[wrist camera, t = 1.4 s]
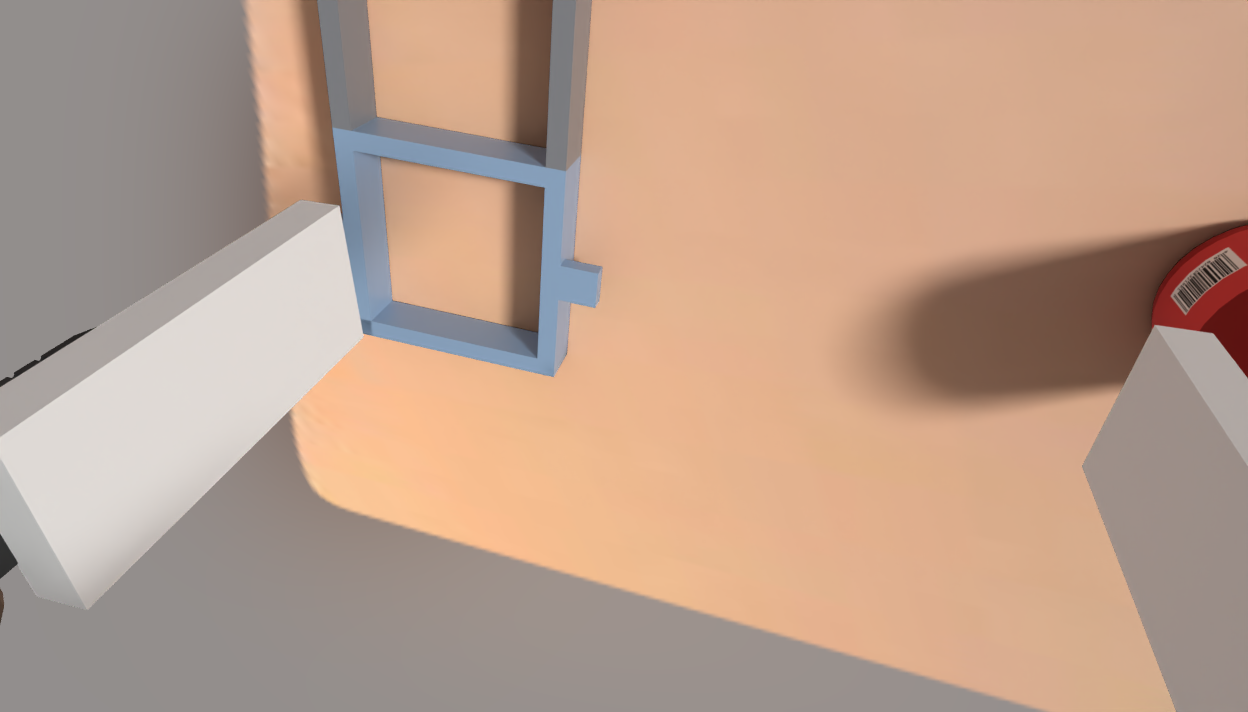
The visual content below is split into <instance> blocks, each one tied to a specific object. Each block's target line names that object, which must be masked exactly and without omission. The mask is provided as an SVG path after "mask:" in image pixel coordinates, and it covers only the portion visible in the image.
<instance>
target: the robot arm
mask: <svg viewBox="0 0 1248 712" xmlns="http://www.w3.org/2000/svg"><path fill="white" fill-rule="evenodd" d="M363 337H364V336H363V331H362V325H361V320H360V315H359V309H358V304H357V298H356V293H355V287H354V282H353V277H352V271H351V266H350V260H349V255H348V250H347V244H346V239H345V233H344V228H343V223H342V217H341V212H340V206H339V205H332V204H325V203H319V202H312V201H305V200H300V201H298V202H296V203H295V204H293V205H292V206H290V207H288V208H287V209H285V210H284V211H282V212H280V213H279V214H277V215H276V216H274V217H272V218H271V219H269V220H268V221H266V222H264V223H263V224H261V225H260V226H258V227H256V228H255V229H253V230H252V231H250V232H249V233H247V234H245V235H244V236H242V237H240V238H239V239H237V240H235V241H234V242H232V243H231V244H229V245H227V246H226V247H224V248H223V249H221V250H220V251H218V252H216V253H215V254H213V255H211V256H210V257H208V258H207V259H205V260H203V261H202V262H200V263H199V264H197V265H195V266H194V267H192V268H191V269H189V270H188V271H186V272H184V273H183V274H181V275H179V276H178V277H176V278H175V279H173V280H171V281H170V282H168V283H167V284H165V285H163V286H162V287H160V288H159V289H157V290H156V291H154V292H152V293H151V294H149V295H147V296H146V297H144V298H143V299H141V300H139V301H138V302H136V303H135V304H133V305H131V306H130V307H128V308H126V309H125V310H123V311H122V312H120V313H119V314H117V315H115V316H114V317H112V318H110V319H109V320H108V321H106V322H104V323H102V324H101V325H99V326H98V327H95V328H93V329H90V330H87V331H85V332H82V333H80V334H77V335H74V336H73V337H71V338H69V339H68V340H66V341H65V342H63V343H61V344H60V345H58V346H56V347H55V348H53V349H52V350H50V351H48V352H47V353H45V354H44V355H42V356H41V360H40V361H37V360H34V361H32V362H31V363H29V364H27V365H26V366H24V367H22V368H21V369H19V370H18V371H16V372H14V377H13V378H9V377H6V378H5V379H3V380H1V381H0V578H2V577H3V576H4V575H5V574H6V573H7V572H9V571H10V570H11V569H12V568H13V567H14V566H16V565H17V566H18V567H19V569H20V571H21V572H22V574H23V575H24V577H25V579H26V580H27V582H28V583H29V585H30V587H31V588H32V590H33V592H34V593H35V595H36V596H37V597H41V598H45V599H48V600H52V601H55V602H59V603H63V604H66V605H70V606H74V607H77V608H81V609H85V610H88V609H89V608H90V607H91V606H92V605H93V604H94V603H95V602H96V601H97V600H98V599H99V598H100V597H101V596H102V595H103V594H104V593H105V592H106V591H107V590H108V589H109V588H110V587H111V586H112V585H113V584H114V583H115V582H116V581H117V580H118V579H119V578H120V577H121V576H122V575H123V574H124V573H125V572H126V571H127V570H128V569H129V568H130V567H131V566H132V565H133V564H134V563H135V562H136V561H137V560H138V559H139V558H140V557H141V556H142V555H143V554H144V553H145V552H146V551H147V550H148V549H149V548H150V547H151V546H152V545H154V544H155V542H157V541H158V540H159V538H160V537H162V536H163V535H164V534H165V533H166V532H167V531H168V530H169V529H170V528H171V527H172V526H173V525H174V524H175V523H176V522H177V521H178V520H179V519H180V518H181V517H182V516H183V515H184V514H185V513H186V512H187V511H188V510H189V509H190V508H191V507H192V506H193V505H194V504H195V503H196V502H197V501H198V500H199V499H200V498H201V497H202V496H203V495H204V494H205V493H206V492H207V491H208V490H209V489H210V488H211V487H212V486H213V485H214V484H215V483H216V482H217V481H218V480H219V479H220V478H221V477H222V476H223V475H224V474H225V473H226V472H227V471H228V470H229V469H230V468H231V467H232V466H234V465H235V463H236V462H237V461H238V460H239V459H241V457H243V455H244V454H246V453H247V452H248V451H249V450H250V449H251V448H252V447H253V446H254V445H255V444H256V443H257V442H258V441H259V440H260V439H261V438H262V437H263V436H264V435H265V434H266V433H267V432H268V431H269V430H270V429H271V428H272V427H273V426H274V425H275V424H276V423H277V422H278V421H279V420H280V419H281V418H282V417H283V416H284V415H285V414H286V413H287V412H288V411H289V410H290V409H291V408H292V407H293V406H294V405H295V404H296V403H297V402H298V401H299V400H300V399H301V398H302V397H303V396H304V395H305V394H306V393H307V392H308V391H309V390H310V389H311V388H312V387H313V386H314V385H316V384H317V383H318V382H319V381H320V380H321V379H322V378H323V377H324V376H325V375H326V374H327V373H328V372H329V371H330V370H331V369H332V368H333V367H334V366H335V365H336V364H337V363H338V362H339V361H340V360H341V359H342V358H343V357H344V356H345V355H346V354H347V353H348V352H349V351H350V350H351V349H352V348H353V347H354V346H355V345H356V344H357V343H358V342H359V341H360V340H361V339H362V338H363ZM1082 468H1083V470H1084V473H1085V475H1086V478H1087V481H1088V483H1089V486H1090V488H1091V491H1092V494H1093V496H1094V499H1095V501H1096V504H1097V507H1098V509H1099V512H1100V514H1101V517H1102V520H1103V522H1104V525H1105V527H1106V530H1107V533H1108V535H1109V538H1110V540H1111V543H1112V546H1113V548H1114V551H1115V553H1116V556H1117V559H1118V561H1119V564H1120V566H1121V569H1122V572H1123V574H1124V577H1125V579H1126V582H1127V585H1128V587H1129V590H1130V592H1131V595H1132V598H1133V600H1134V603H1135V605H1136V608H1137V611H1138V613H1139V616H1140V618H1141V621H1142V624H1143V626H1144V629H1145V631H1146V634H1147V637H1148V639H1149V642H1150V644H1151V647H1152V650H1153V652H1154V655H1155V657H1156V660H1157V663H1158V665H1159V668H1160V670H1161V673H1162V676H1163V678H1164V681H1165V683H1166V686H1167V689H1168V691H1169V694H1170V696H1171V699H1172V702H1173V704H1174V707H1175V709H1176V712H1248V378H1247V377H1246V375H1245V374H1244V373H1243V371H1242V370H1241V369H1240V368H1239V366H1238V365H1237V364H1236V362H1235V361H1234V360H1233V358H1232V357H1231V356H1230V355H1229V353H1228V352H1227V351H1226V349H1225V348H1224V347H1223V345H1222V344H1221V343H1220V342H1219V340H1218V339H1217V338H1216V336H1215V335H1214V334H1213V333H1207V332H1200V331H1193V330H1186V329H1180V328H1173V327H1166V326H1159V325H1154V327H1153V329H1152V331H1151V333H1150V335H1149V337H1148V339H1147V341H1146V343H1145V345H1144V347H1143V349H1142V351H1141V353H1140V354H1139V356H1138V358H1137V360H1136V362H1135V364H1134V366H1133V368H1132V370H1131V372H1130V374H1129V376H1128V378H1127V380H1126V382H1125V384H1124V386H1123V387H1122V389H1121V391H1120V393H1119V395H1118V397H1117V399H1116V401H1115V403H1114V405H1113V407H1112V409H1111V411H1110V413H1109V415H1108V417H1107V419H1106V421H1105V422H1104V424H1103V426H1102V428H1101V430H1100V432H1099V434H1098V436H1097V438H1096V440H1095V442H1094V444H1093V446H1092V448H1091V450H1090V452H1089V454H1088V456H1087V457H1086V459H1085V461H1084V463H1083V465H1082ZM3 609H4V600H3V593H2V591H1V589H0V623H1V617H2V613H3Z"/></svg>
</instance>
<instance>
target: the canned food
mask: <svg viewBox="0 0 1248 712" xmlns="http://www.w3.org/2000/svg"><path fill="white" fill-rule="evenodd" d="M1154 325H1159V326H1166V327H1173V328H1180V329H1186V330H1193V331H1200V332H1207V333H1213V334H1214V335H1215V336H1216V338H1217V339H1218V340H1219V342H1220V343H1221V344H1222V345H1223V347H1224V348H1225V349H1226V351H1227V352H1228V353H1229V355H1230V356H1231V357H1232V358H1233V360H1234V361H1235V362H1236V364H1237V365H1238V366H1239V368H1240V369H1241V370H1242V371H1243V373H1244V374H1245V375H1246V377H1247V378H1248V225H1245V226H1242V227H1238V228H1234V229H1231V230H1229V231H1226V232H1224V233H1222V234H1219V235H1217V236H1215V237H1212V238H1211V239H1209V240H1207V241H1206V242H1204V243H1202V244H1201V245H1199V246H1197V247H1196V248H1194V249H1193V250H1192V251H1191V252H1189V253H1188V254H1187V255H1186V256H1184V257H1183V258H1182V259H1181V260H1180V261H1179V262H1178V263H1177V264H1176V265H1175V266H1174V267H1173V268H1172V270H1171V271H1170V272H1169V273H1168V274H1167V276H1166V277H1165V279H1164V280H1163V282H1162V284H1161V285H1160V287H1159V289H1158V291H1157V294H1156V297H1155V299H1154V302H1153V309H1152V329H1153V327H1154Z"/></svg>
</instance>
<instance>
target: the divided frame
mask: <svg viewBox="0 0 1248 712" xmlns="http://www.w3.org/2000/svg"><path fill="white" fill-rule="evenodd" d="M317 4H318V12H319V20H320V29H321V37H322V46H323V54H324V62H325V71H326V79H327V87H328V96H329V104H330V112H331V121H332V129H333V137H334V146H335V154H336V162H337V171H338V179H339V187H340V196H341V204H342V212H343V214H342V213H341V217H342V223H343V228H344V233H345V239H346V244H347V250H348V255H349V260H350V266H351V271H352V277H353V282H354V287H355V293H356V298H357V304H358V309H359V315H360V320H361V325H362V331H363V334H367V335H372V336H376V337H380V338H385V339H389V340H394V341H398V342H402V343H407V344H411V345H415V346H420V347H424V348H429V349H433V350H437V351H442V352H446V353H450V354H455V355H459V356H464V357H468V358H472V359H477V360H481V361H486V362H490V363H494V364H499V365H503V366H507V367H512V368H516V369H521V370H525V371H529V372H534V373H538V374H542V375H547V376H551V377H554V376H555V374H556V372H557V370H558V369H559V367H560V365H561V363H562V362H563V360H564V358H565V356H566V354H567V346H568V332H569V318H570V304H571V303H575V304H579V305H584V306H589V307H594V308H595V307H596V306H597V304H598V302H599V298H600V287H601V277H602V267H601V266H596V265H591V264H586V263H581V262H576V261H574V247H575V232H576V218H577V204H578V190H579V175H580V161H581V147H582V133H583V118H584V104H585V90H586V76H587V61H588V47H589V33H590V19H591V4H592V0H553V10H552V33H551V56H550V79H549V102H548V125H547V148H542V147H537V146H531V145H526V144H520V143H515V142H509V141H504V140H499V139H493V138H488V137H482V136H477V135H471V134H466V133H461V132H455V131H450V130H444V129H439V128H433V127H428V126H423V125H417V124H412V123H406V122H401V121H395V120H390V119H385V118H379V117H377V115H376V103H375V92H374V80H373V68H372V56H371V45H370V33H369V21H368V10H367V0H317ZM380 156H383V157H388V158H393V159H398V160H404V161H409V162H414V163H419V164H424V165H430V166H435V167H440V168H445V169H450V170H456V171H461V172H466V173H471V174H477V175H482V176H487V177H492V178H497V179H503V180H508V181H513V182H518V183H523V184H529V185H534V186H539V187H544V188H545V194H544V218H543V241H542V264H541V287H540V310H539V333H537V332H533V331H528V330H524V329H519V328H515V327H510V326H506V325H501V324H496V323H492V322H487V321H483V320H478V319H474V318H469V317H465V316H460V315H456V314H451V313H447V312H442V311H437V310H433V309H428V308H424V307H419V306H415V305H410V304H406V303H401V302H397V301H392V290H391V279H390V267H389V255H388V243H387V232H386V220H385V208H384V197H383V185H382V173H381V162H380Z"/></svg>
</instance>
